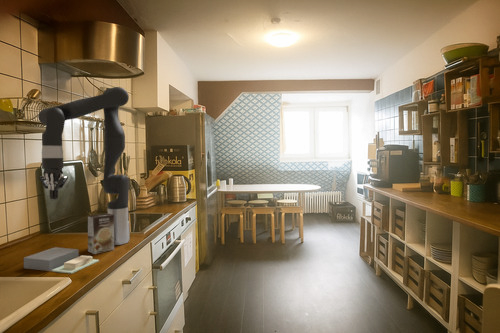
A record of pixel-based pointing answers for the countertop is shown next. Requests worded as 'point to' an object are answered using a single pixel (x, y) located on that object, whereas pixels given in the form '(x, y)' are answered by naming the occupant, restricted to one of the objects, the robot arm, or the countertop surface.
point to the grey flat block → (50, 258)
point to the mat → (65, 270)
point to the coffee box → (100, 233)
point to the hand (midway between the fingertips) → (53, 199)
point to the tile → (78, 262)
